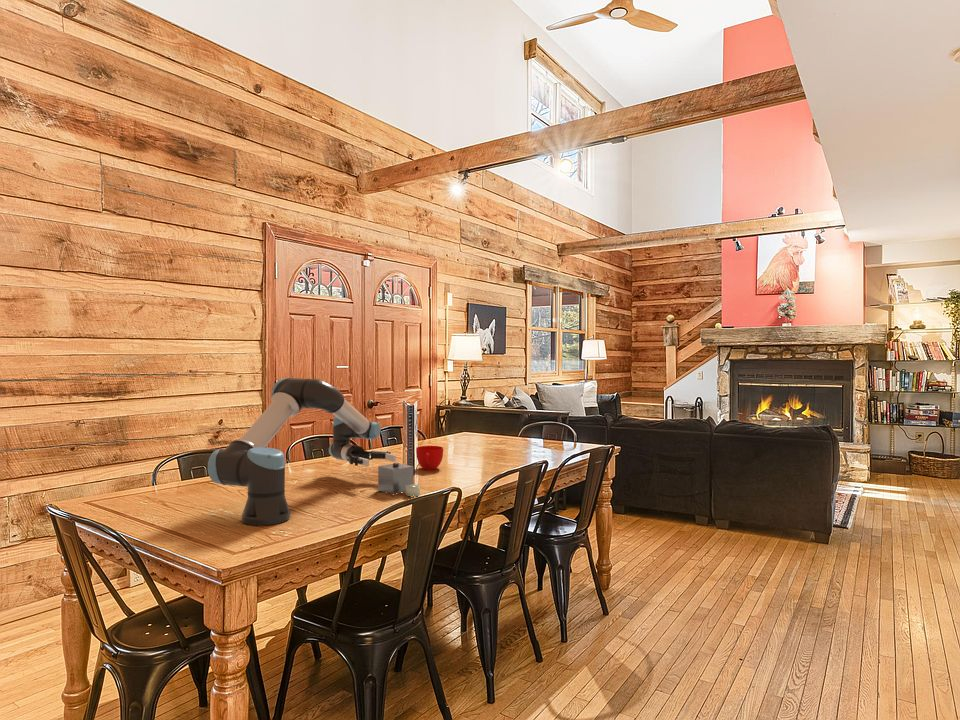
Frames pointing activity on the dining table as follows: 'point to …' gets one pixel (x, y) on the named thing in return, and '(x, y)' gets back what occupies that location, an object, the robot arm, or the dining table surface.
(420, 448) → the ceramic cup
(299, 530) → the dining table surface
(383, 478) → the metal cover
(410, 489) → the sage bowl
